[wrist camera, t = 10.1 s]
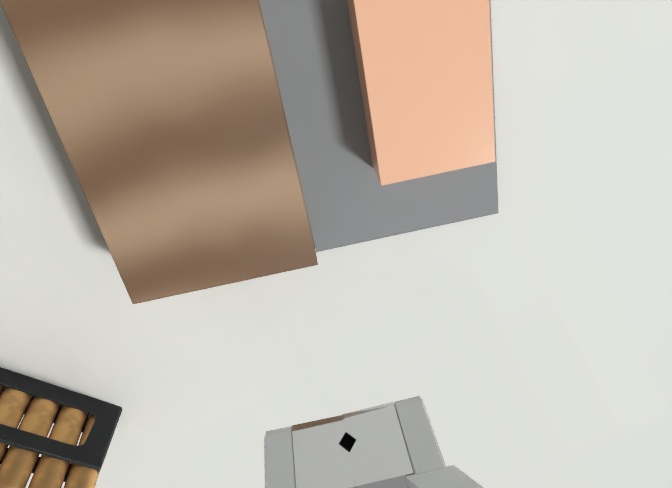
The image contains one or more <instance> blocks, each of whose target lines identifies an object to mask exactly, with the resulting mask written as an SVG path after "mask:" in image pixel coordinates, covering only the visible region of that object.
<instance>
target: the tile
mask: <svg viewBox="0 0 672 488" xmlns="http://www.w3.org/2000/svg"><path fill="white" fill-rule="evenodd" d="M347 3H348V9H349V16H350V22H351V29H352V35H353V42H354V48H355V55H356V61H357V68H358V74H359V81H360V87H361V94H362V100H363V107H364V113H365V120H366V127H367V133H368V140H369V146H370V153H371V159H372V166H373V169H374V171H375V174H376V176H377V178H378V180H379V182H380V184H381V186H382V185H387V184H392V183H396V182H401V181H406V180H411V179H415V178H420V177H425V176H430V175H434V174H439V173H444V172H449V171H453V170H458V169H463V168H467V167H472V166H477V165H482V164H486V163H491V162H495V140H494V113H493V86H492V59H491V32H490V5H489V0H347Z"/></svg>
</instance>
